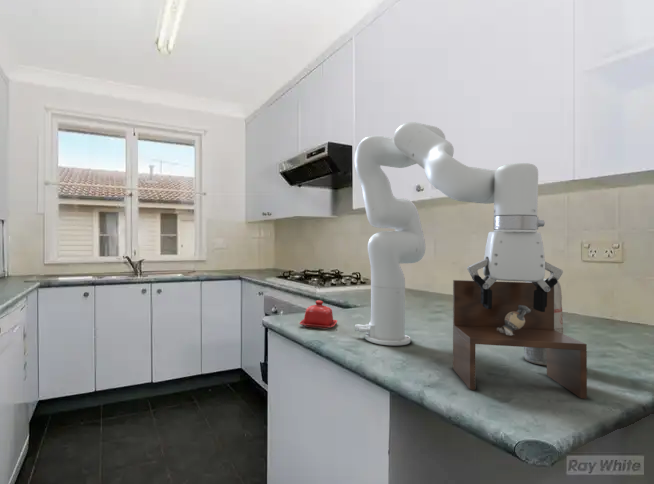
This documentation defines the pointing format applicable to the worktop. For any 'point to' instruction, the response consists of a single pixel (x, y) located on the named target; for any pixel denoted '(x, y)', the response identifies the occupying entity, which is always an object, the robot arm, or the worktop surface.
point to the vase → (514, 320)
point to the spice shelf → (537, 332)
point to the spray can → (541, 353)
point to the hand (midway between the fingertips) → (512, 309)
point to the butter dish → (318, 316)
